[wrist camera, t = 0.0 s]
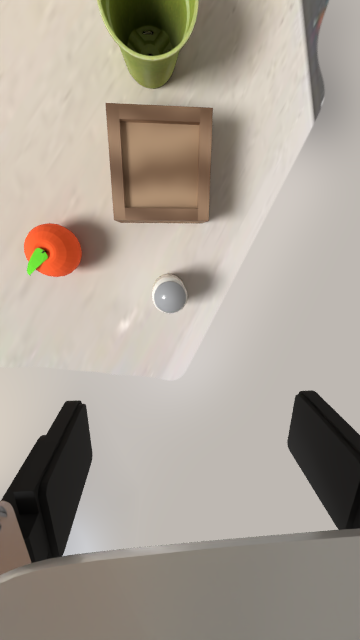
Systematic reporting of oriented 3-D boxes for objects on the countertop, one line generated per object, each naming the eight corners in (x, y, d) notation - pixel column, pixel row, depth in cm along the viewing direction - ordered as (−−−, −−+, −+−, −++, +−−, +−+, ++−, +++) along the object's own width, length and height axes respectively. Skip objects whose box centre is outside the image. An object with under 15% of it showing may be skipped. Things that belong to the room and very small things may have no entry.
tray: (114, 125, 33) (105, 103, 27) (203, 129, 34) (212, 107, 28) (120, 222, 37) (114, 219, 31) (201, 223, 38) (208, 220, 32)
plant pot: (184, 5, 30) (194, -85, 21) (191, 102, 33) (202, 55, 24) (105, 10, 29) (84, -79, 21) (120, 108, 32) (106, 63, 24)
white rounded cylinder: (152, 273, 39) (151, 279, 33) (184, 273, 39) (188, 279, 34) (153, 304, 41) (152, 315, 35) (183, 304, 41) (187, 314, 35)
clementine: (64, 287, 39) (44, 297, 32) (24, 255, 37) (-6, 259, 30) (97, 249, 37) (83, 251, 30) (58, 214, 35) (34, 208, 29)
